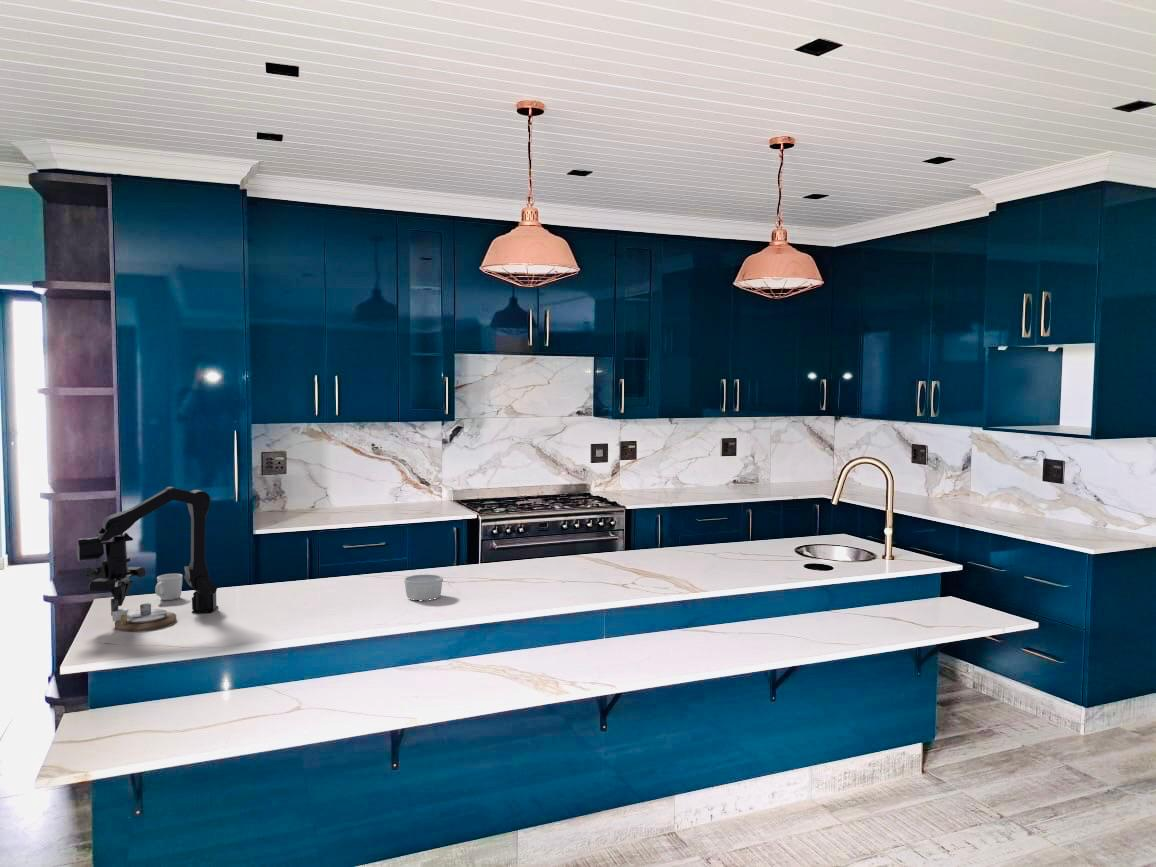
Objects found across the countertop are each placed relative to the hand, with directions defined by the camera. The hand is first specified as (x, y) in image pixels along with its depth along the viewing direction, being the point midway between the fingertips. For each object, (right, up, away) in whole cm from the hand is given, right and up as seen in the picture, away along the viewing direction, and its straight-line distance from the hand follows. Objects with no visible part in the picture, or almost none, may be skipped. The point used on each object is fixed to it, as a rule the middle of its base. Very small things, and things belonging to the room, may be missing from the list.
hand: (119, 605), depth 261 cm
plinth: (+8, -6, 0) cm, 10 cm away
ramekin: (+89, -4, +32) cm, 94 cm away
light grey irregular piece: (+6, -4, 0) cm, 7 cm away
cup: (0, -4, +30) cm, 30 cm away
